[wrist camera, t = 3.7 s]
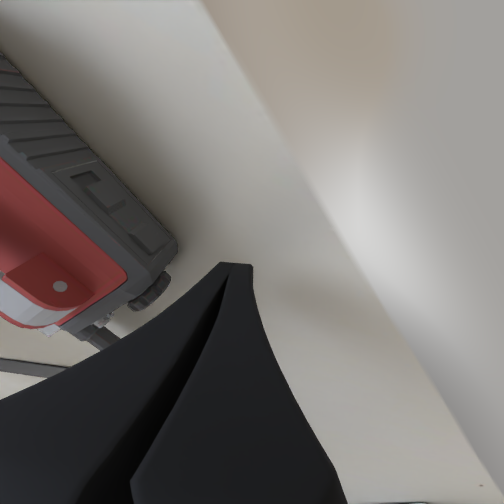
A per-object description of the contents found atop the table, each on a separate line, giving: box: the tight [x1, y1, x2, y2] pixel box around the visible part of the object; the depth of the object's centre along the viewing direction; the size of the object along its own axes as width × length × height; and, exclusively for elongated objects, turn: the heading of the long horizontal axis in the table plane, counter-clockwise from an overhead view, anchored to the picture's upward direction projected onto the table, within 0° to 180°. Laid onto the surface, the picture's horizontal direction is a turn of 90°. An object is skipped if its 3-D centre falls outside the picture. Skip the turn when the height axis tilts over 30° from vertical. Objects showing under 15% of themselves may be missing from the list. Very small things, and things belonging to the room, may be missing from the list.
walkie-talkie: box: [0, 52, 178, 351], centre depth 10 cm, size 9×4×20 cm
